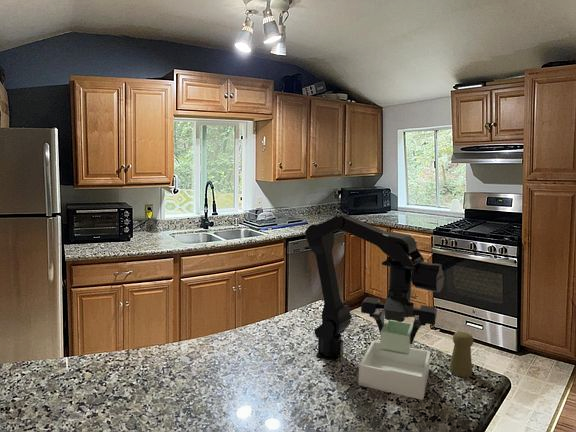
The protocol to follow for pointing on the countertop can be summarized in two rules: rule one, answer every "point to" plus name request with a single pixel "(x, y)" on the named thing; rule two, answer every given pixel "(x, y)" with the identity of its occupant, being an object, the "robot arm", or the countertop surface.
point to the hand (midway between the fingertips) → (396, 341)
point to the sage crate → (396, 337)
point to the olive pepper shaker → (461, 355)
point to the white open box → (395, 371)
